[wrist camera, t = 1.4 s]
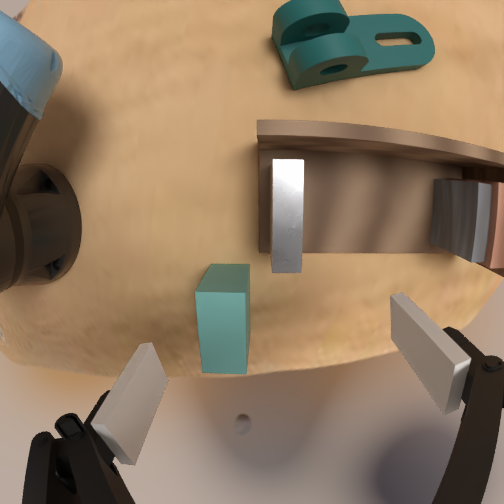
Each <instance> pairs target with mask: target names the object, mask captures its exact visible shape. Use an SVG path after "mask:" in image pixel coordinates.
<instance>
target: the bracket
mask: <svg viewBox="0 0 504 504" xmlns="http://www.w3.org/2000/svg"><path fill="white" fill-rule="evenodd" d="M272 38H273V41H274V43H275V45H276V48H277V50H278V52H279V55H280V57H281V60H282V62H283V65H284V67H285V70H286V72H287V75H288V77H289V80H290V82H291V85H292V87H293V90H297V89H301V88H305V87H310V86H314V85H319V84H323V83H328V82H333V81H338V80H344V79H349V78H355V77H361V76H367V75H374V74H381V73H389V72H397V71H407V70H416V69H419V68H421V67H422V66H424V65H426V64H427V63H429V62H430V61H431V60H432V59H433V57H434V54H435V46H434V42H433V39H432V37H431V36H430V34H429V32H428V31H427V30H426V29H425V27H424V26H423V25H421V24H420V23H419V22H418V21H416V20H415V19H413V18H411V17H409V16H406V15H402V14H375V15H359V16H347V14H346V12H345V10H344V8H343V6H342V5H341V3H340V1H339V0H291V1H289V2H287V3H285V4H284V5H282V6H281V7H280V8H279V9H278V10H277V11H276V12H275V14H274V16H273V27H272ZM395 38H408V39H410V40H411V41H412V42H413V44H414V45H395V46H381V45H380V44H378V43H377V42H376V40H380V39H395Z"/></svg>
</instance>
